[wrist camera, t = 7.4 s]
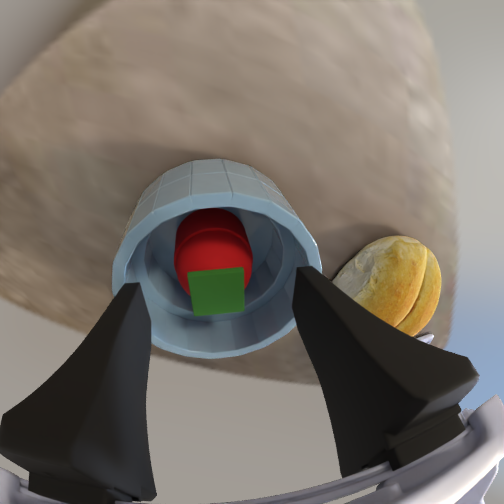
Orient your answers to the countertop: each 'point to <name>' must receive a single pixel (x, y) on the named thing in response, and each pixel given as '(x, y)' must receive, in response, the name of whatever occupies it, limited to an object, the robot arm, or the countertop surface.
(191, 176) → the bowl
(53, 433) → the robot arm
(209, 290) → the strawberry
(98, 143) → the countertop surface
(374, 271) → the bread roll
